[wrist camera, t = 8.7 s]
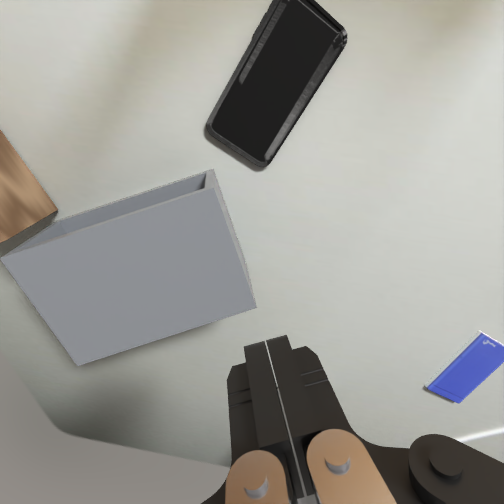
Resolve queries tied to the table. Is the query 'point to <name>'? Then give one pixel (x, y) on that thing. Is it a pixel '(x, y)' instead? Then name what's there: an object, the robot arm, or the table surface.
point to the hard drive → (468, 368)
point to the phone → (276, 78)
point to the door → (19, 194)
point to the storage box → (136, 269)
